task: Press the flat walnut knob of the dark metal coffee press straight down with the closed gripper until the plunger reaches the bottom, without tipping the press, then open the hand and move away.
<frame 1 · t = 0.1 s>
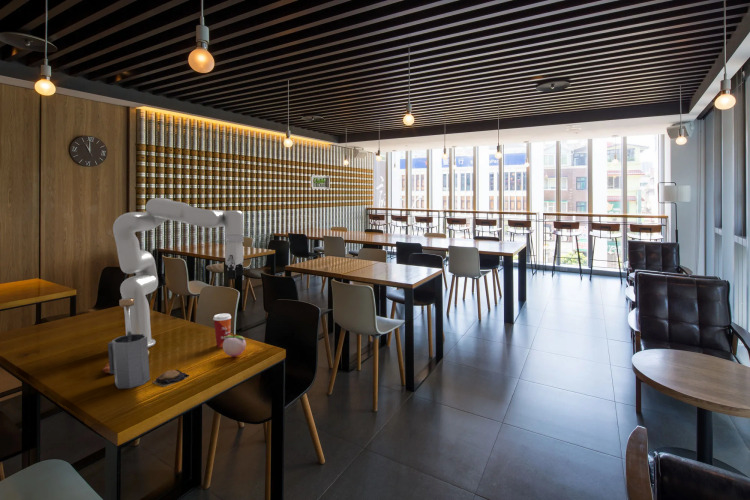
hand: (236, 277, 171), 31 cm above the table, tool pointing down, fingers open, 9 cm apart
abalone: (171, 381, 140), on the table
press: (132, 382, 138), on the table
decorative fruit: (234, 357, 161), on the table
croissant: (128, 366, 153), on the table
paper cup: (223, 345, 175), on the table
plunger: (128, 325, 136), point 21 cm above the table, slide at 0.0 cm
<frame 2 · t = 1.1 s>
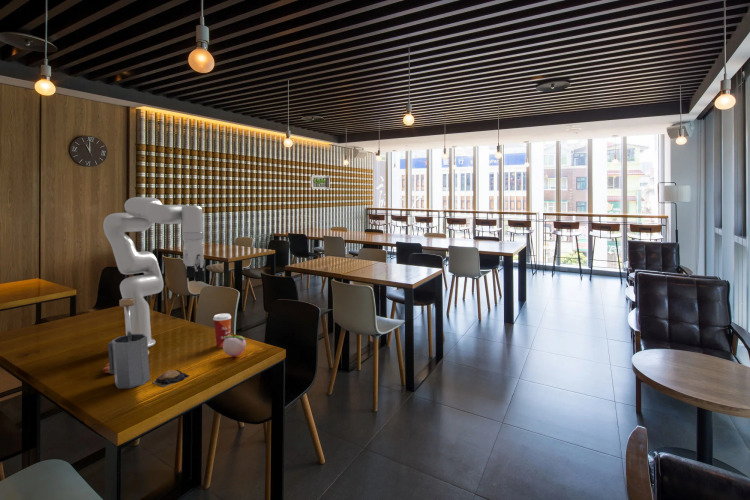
hand: (195, 279, 155), 33 cm above the table, tool pointing down, fingers open, 9 cm apart
nothing on the table moved.
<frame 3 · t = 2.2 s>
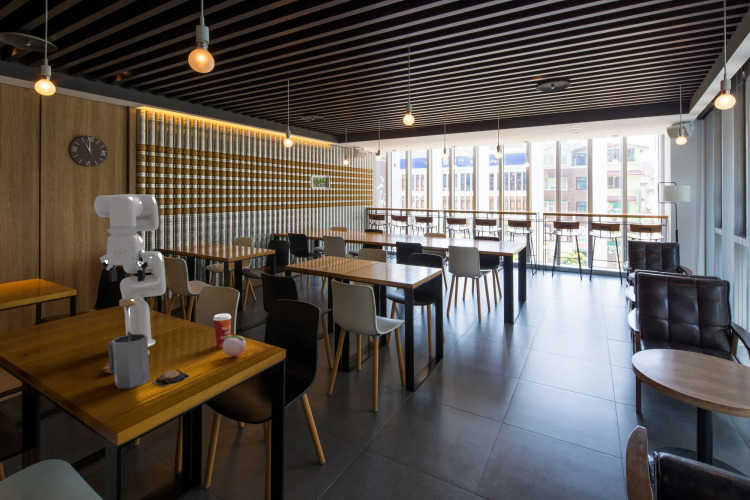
hand: (127, 281, 135), 36 cm above the table, tool pointing down, fingers open, 9 cm apart
nothing on the table moved.
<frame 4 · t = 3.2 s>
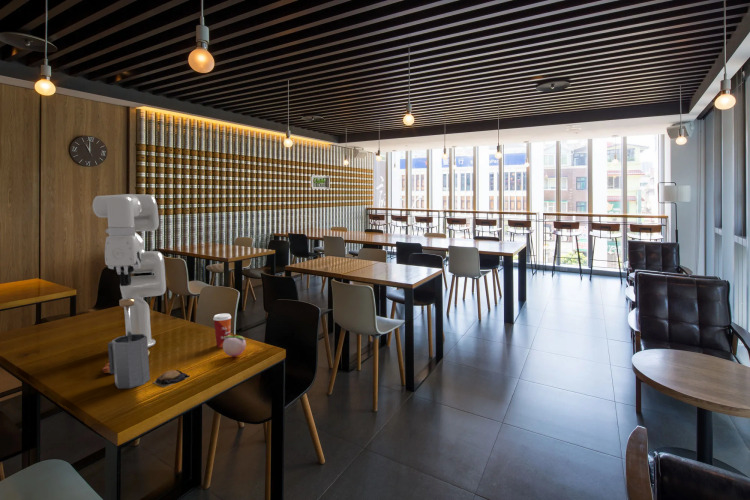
hand: (125, 285, 134), 35 cm above the table, tool pointing down, fingers closed
nothing on the table moved.
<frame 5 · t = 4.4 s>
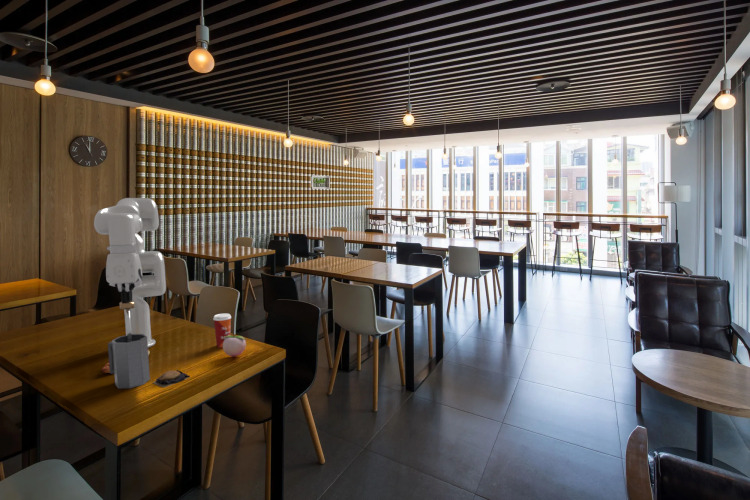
hand: (127, 302, 135), 29 cm above the table, tool pointing down, fingers closed
plunger: (128, 327, 136), point 20 cm above the table, slide at 1.0 cm, touching gripper
everything else where it was.
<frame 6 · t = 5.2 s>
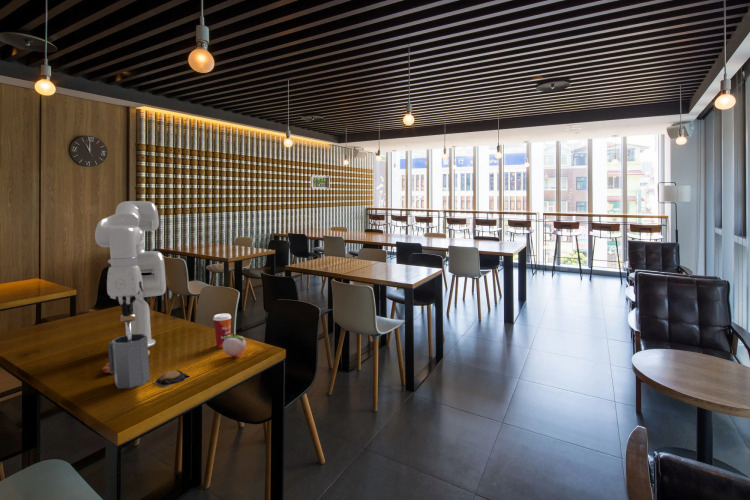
hand: (127, 314, 135), 25 cm above the table, tool pointing down, fingers closed
plunger: (129, 340, 136), point 15 cm above the table, slide at 5.4 cm, touching gripper
everything else where it was.
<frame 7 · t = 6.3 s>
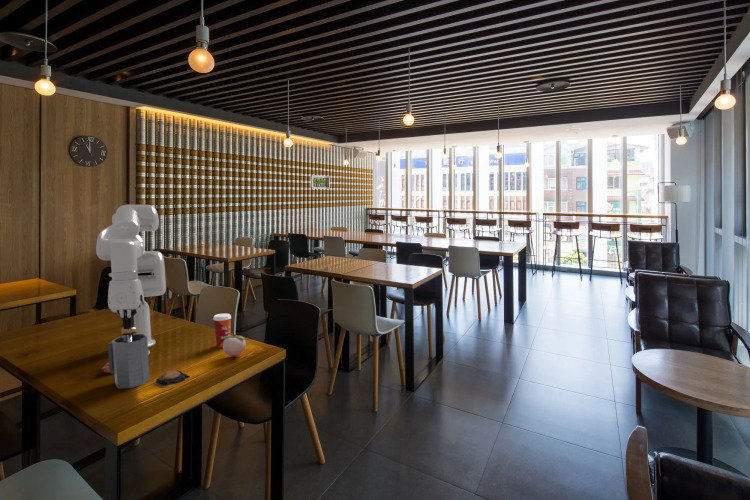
hand: (128, 327, 136), 20 cm above the table, tool pointing down, fingers closed
plunger: (130, 352, 137), point 11 cm above the table, slide at 10.1 cm, touching gripper
everything else where it was.
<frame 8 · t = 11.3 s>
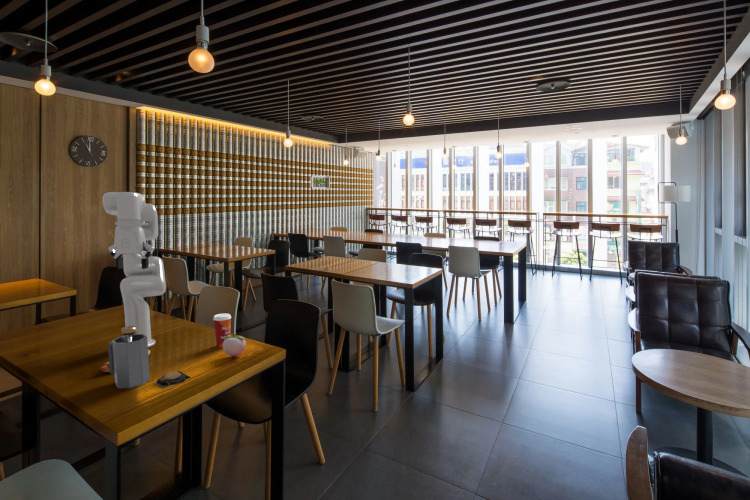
hand: (132, 268, 151), 38 cm above the table, tool pointing down, fingers open, 9 cm apart
plunger: (130, 353, 137), point 11 cm above the table, slide at 10.1 cm
at the end: plunger slide at 10.1 cm; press tilted 0°; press moved 0.0 cm from its start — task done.
